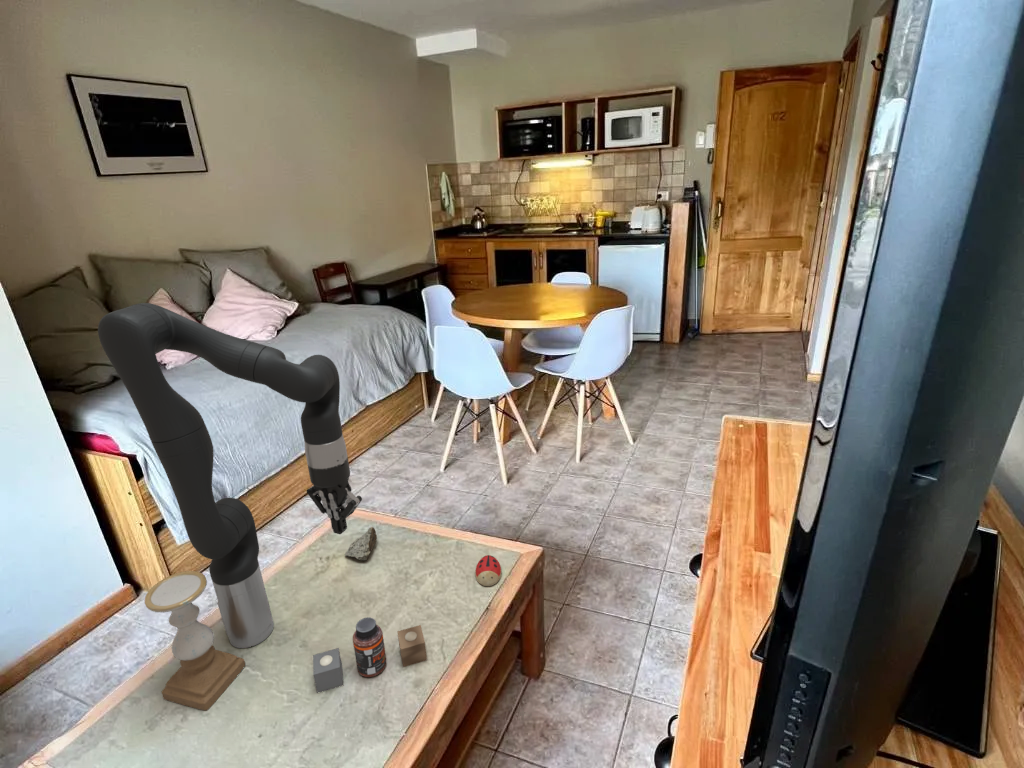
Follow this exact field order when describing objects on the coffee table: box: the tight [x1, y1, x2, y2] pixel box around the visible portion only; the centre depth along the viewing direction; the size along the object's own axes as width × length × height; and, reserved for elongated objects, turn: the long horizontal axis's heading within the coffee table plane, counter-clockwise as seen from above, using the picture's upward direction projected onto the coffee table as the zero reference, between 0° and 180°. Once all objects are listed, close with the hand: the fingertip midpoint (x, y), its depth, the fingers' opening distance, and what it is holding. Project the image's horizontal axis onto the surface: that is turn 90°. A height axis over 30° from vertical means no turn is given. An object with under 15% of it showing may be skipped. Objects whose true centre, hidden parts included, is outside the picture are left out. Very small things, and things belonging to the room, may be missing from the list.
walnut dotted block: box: [396, 624, 428, 668], centre depth 114 cm, size 5×5×5 cm
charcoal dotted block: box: [312, 647, 344, 694], centre depth 109 cm, size 5×5×5 cm
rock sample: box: [344, 526, 378, 561], centre depth 146 cm, size 10×8×9 cm
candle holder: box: [144, 570, 246, 712], centre depth 106 cm, size 11×11×24 cm
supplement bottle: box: [352, 616, 387, 678], centre depth 111 cm, size 6×6×11 cm
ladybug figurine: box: [474, 554, 503, 587], centre depth 137 cm, size 7×10×4 cm
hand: (340, 531), depth 112 cm, fingers closed
